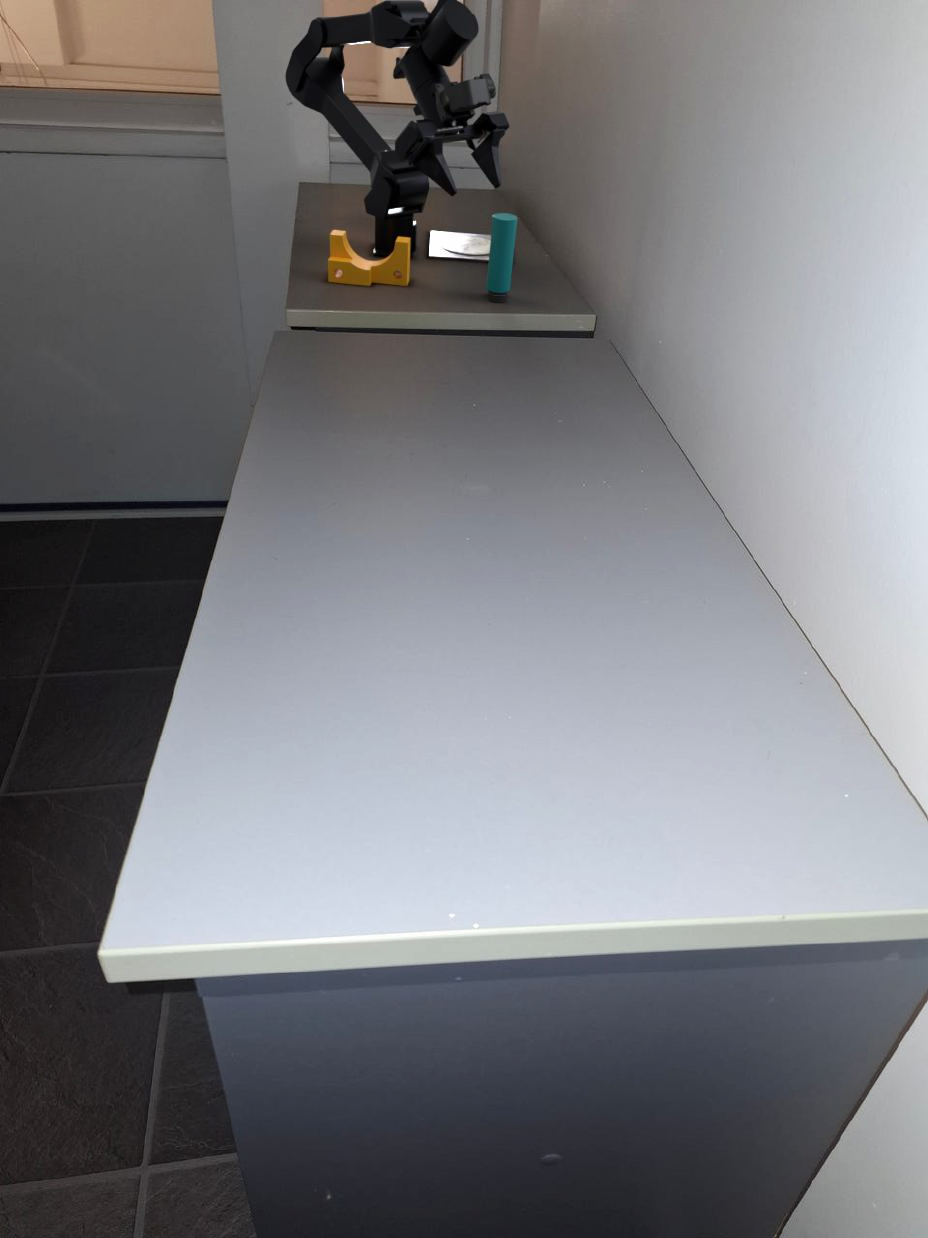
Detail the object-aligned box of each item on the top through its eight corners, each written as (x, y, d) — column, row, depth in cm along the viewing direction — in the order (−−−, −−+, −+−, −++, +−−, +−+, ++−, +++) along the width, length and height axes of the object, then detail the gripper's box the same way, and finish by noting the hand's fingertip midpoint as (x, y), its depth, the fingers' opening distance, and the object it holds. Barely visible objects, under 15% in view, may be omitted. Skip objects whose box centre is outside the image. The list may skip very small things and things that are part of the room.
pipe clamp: (328, 281, 132) (327, 237, 128) (334, 272, 136) (333, 229, 132) (405, 289, 132) (406, 246, 128) (409, 280, 135) (410, 237, 131)
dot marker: (485, 302, 130) (493, 219, 123) (485, 294, 133) (492, 211, 125) (509, 304, 131) (518, 220, 123) (508, 295, 133) (516, 213, 126)
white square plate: (428, 258, 144) (428, 254, 144) (430, 232, 155) (430, 229, 155) (511, 263, 145) (511, 260, 145) (507, 238, 156) (507, 235, 155)
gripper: (411, 52, 113) (461, 165, 115) (508, 47, 124) (552, 151, 126) (372, 106, 122) (419, 210, 124) (465, 98, 133) (507, 193, 135)
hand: (477, 190), depth 127 cm, fingers open, 9 cm apart
